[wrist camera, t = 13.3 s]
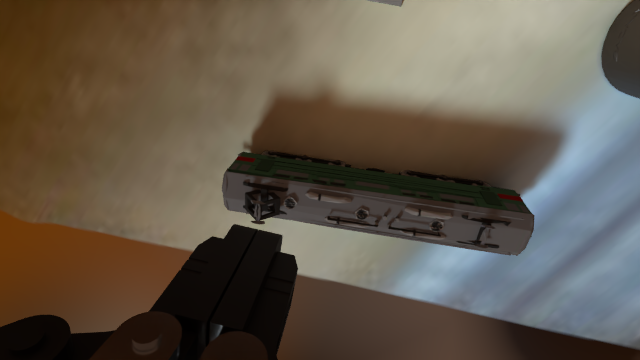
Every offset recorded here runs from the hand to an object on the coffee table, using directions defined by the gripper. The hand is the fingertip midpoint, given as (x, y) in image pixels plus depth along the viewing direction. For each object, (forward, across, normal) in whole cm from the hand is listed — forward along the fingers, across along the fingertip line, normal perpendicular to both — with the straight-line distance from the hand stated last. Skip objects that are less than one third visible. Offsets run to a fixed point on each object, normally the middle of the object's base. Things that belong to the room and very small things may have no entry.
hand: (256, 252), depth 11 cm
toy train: (+27, -6, +10) cm, 29 cm away
